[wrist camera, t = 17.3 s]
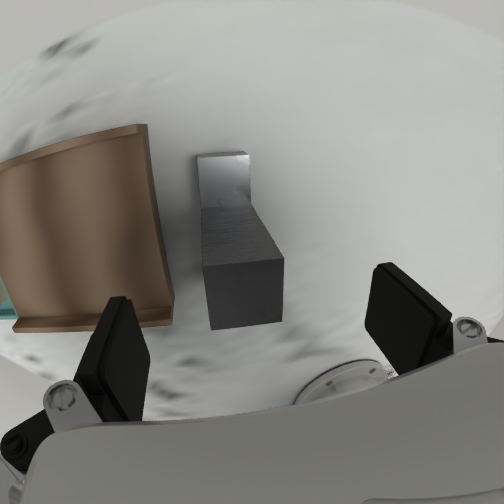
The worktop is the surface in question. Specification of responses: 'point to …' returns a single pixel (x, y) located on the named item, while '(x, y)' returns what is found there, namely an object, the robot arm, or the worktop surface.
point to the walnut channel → (83, 233)
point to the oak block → (2, 293)
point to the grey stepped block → (236, 247)
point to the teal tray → (7, 307)
